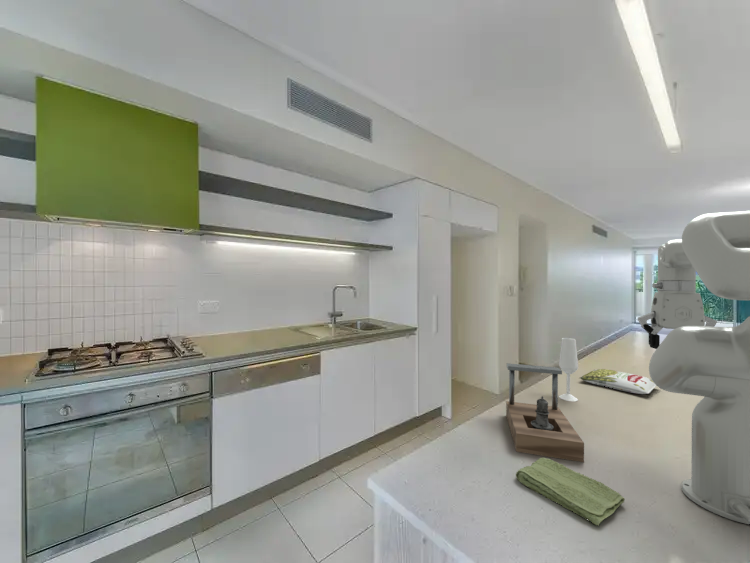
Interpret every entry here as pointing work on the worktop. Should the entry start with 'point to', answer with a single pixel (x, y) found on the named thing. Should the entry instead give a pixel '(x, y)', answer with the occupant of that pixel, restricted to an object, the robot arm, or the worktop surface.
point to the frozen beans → (620, 381)
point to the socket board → (543, 433)
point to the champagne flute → (568, 363)
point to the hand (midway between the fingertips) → (675, 349)
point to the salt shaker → (542, 416)
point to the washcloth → (571, 489)
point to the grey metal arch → (531, 368)
